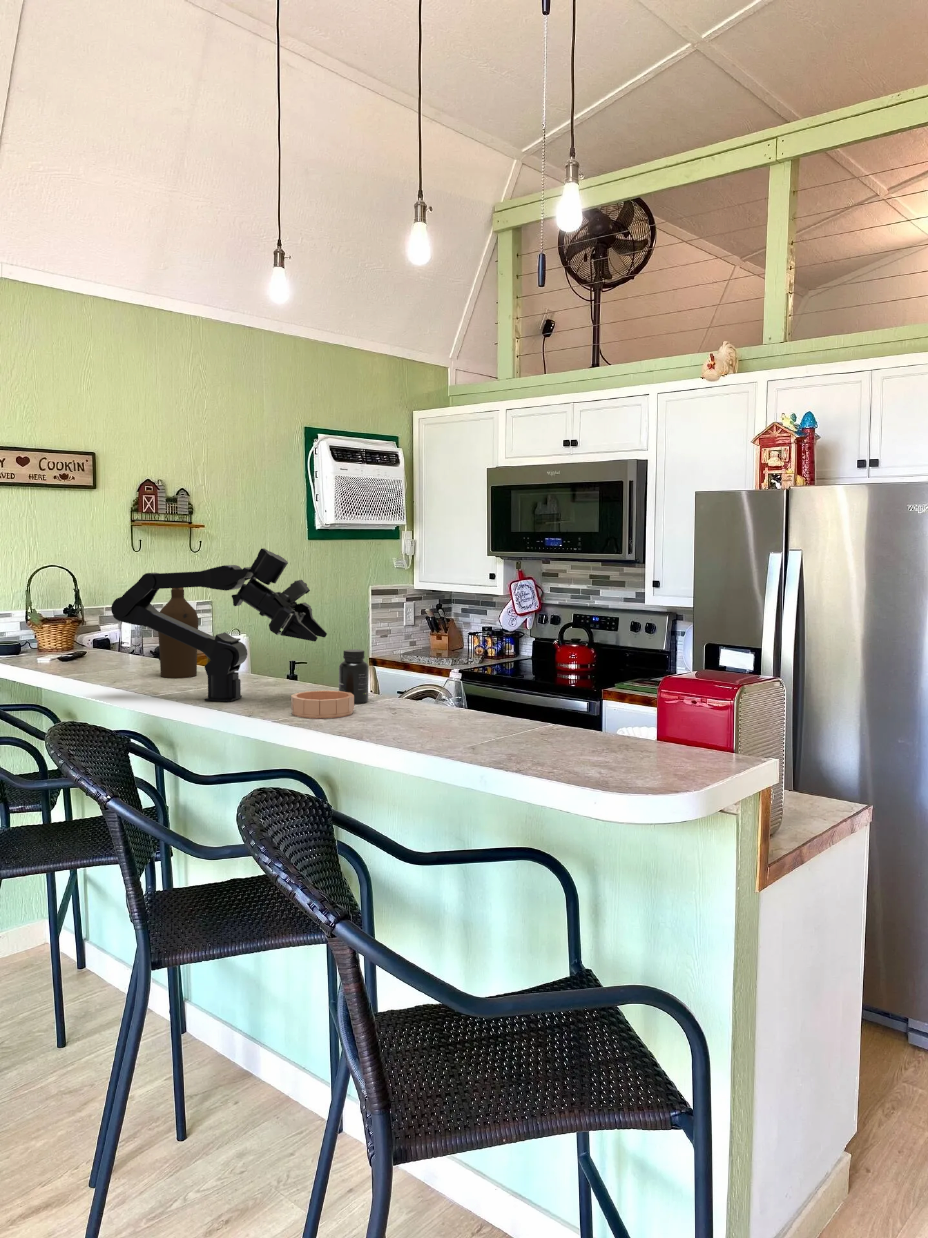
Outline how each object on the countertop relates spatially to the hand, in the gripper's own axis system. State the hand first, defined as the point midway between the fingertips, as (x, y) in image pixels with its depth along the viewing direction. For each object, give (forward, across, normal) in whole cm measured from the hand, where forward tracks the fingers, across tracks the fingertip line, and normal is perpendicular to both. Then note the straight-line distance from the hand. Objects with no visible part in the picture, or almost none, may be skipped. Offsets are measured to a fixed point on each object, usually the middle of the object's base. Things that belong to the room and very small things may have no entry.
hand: (321, 637), depth 206 cm
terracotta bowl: (+11, -13, +11) cm, 20 cm away
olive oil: (-33, +35, +38) cm, 62 cm away
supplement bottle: (+14, +1, +9) cm, 17 cm away
